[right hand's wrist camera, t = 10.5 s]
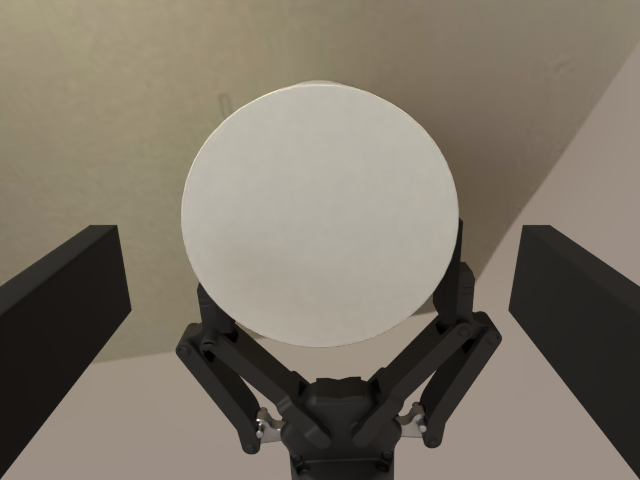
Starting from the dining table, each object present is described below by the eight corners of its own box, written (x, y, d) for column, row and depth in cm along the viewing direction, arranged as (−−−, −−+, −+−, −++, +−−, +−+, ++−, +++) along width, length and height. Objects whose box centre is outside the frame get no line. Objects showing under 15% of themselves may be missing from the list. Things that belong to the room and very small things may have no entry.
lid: (148, 240, 18) (130, 258, 16) (287, 21, 15) (284, 15, 14) (344, 362, 20) (346, 388, 19) (499, 188, 17) (518, 201, 16)
